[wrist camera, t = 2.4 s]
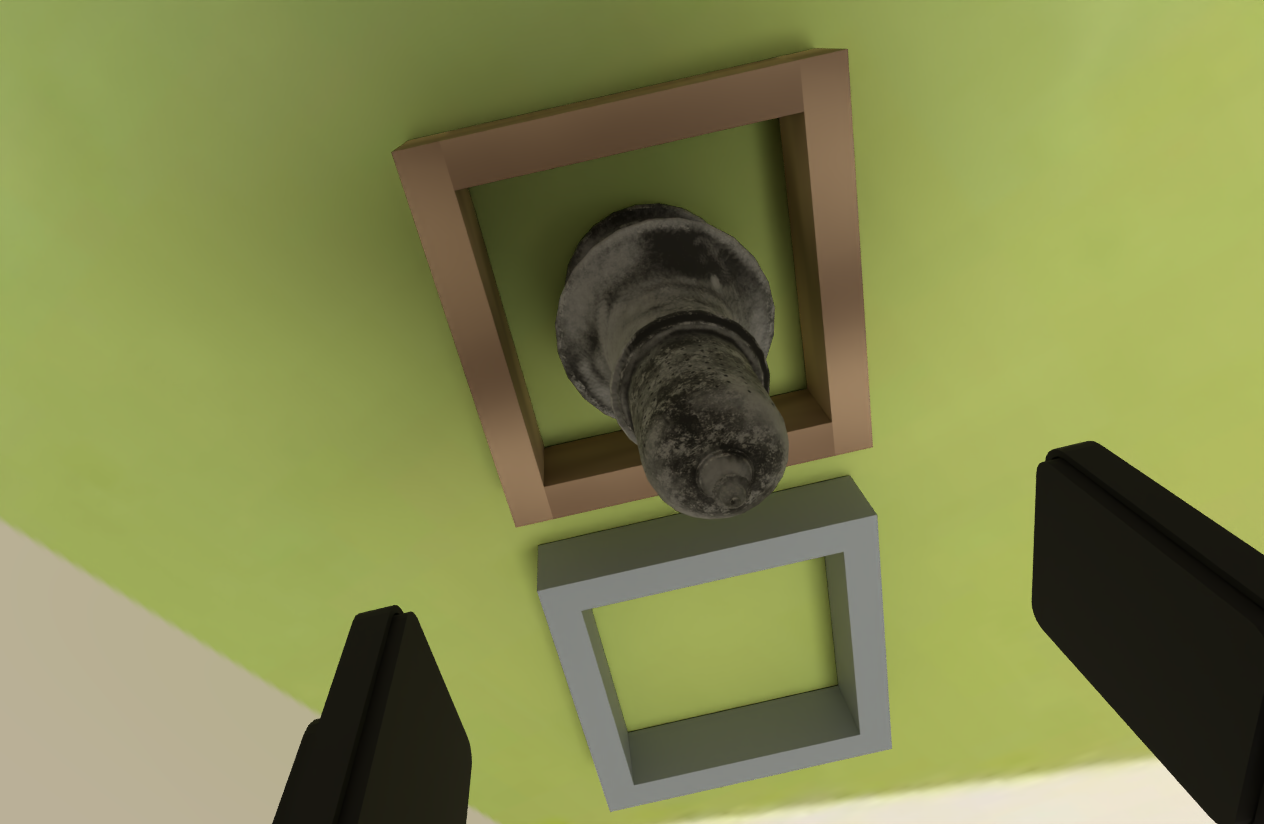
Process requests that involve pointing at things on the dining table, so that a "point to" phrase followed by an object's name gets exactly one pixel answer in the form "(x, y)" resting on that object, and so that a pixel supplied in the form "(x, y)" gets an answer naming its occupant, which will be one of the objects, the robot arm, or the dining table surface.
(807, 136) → the walnut holder
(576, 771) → the dining table surface
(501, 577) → the dining table surface
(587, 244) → the dark grey turned piece
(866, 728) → the grey holder
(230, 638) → the dining table surface
